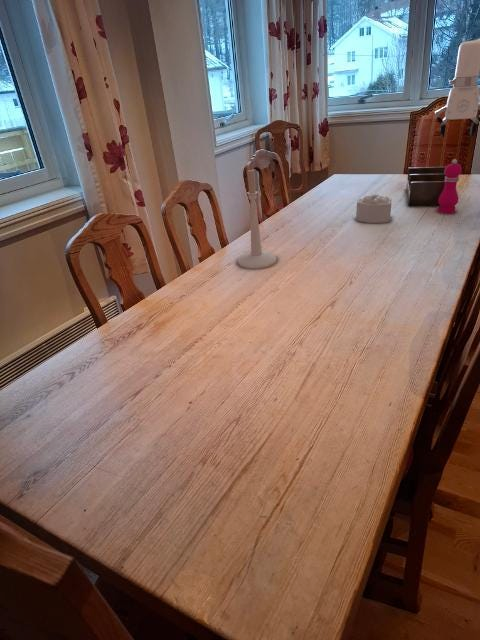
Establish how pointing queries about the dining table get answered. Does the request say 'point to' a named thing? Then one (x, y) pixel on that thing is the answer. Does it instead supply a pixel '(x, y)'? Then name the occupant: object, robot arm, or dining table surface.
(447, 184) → the pepper mill
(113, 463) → the dining table surface
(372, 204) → the lumpy-topped squat cylinder
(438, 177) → the shelf
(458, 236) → the dining table surface
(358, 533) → the dining table surface
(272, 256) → the candlestick
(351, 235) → the dining table surface
